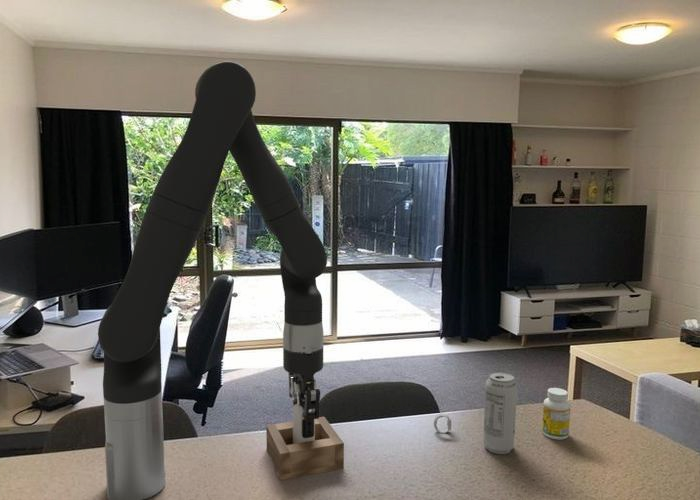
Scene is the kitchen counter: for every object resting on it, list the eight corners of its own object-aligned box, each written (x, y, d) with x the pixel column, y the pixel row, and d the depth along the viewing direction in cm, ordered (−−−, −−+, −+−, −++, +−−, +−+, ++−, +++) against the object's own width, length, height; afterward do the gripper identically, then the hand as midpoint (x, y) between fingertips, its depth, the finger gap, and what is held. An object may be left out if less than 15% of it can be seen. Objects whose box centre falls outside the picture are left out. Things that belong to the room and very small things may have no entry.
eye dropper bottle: (315, 439, 110) (315, 381, 108) (314, 454, 104) (314, 392, 102) (293, 439, 110) (293, 381, 108) (291, 454, 104) (290, 392, 102)
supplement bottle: (568, 442, 115) (571, 397, 113) (541, 437, 116) (544, 394, 115) (568, 431, 120) (571, 388, 118) (542, 427, 121) (544, 385, 120)
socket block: (280, 480, 99) (280, 453, 99) (266, 449, 111) (266, 425, 110) (343, 468, 104) (343, 443, 103) (324, 439, 115) (324, 416, 114)
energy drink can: (520, 452, 110) (524, 379, 108) (494, 457, 108) (498, 383, 106) (501, 438, 116) (504, 369, 114) (476, 443, 114) (479, 373, 112)
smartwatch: (433, 433, 118) (434, 416, 117) (432, 429, 120) (433, 411, 119) (450, 434, 118) (451, 416, 117) (449, 429, 120) (450, 412, 119)
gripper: (275, 335, 109) (275, 417, 112) (293, 358, 96) (293, 450, 98) (311, 332, 112) (311, 412, 114) (334, 354, 99) (334, 443, 101)
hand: (303, 429), depth 106 cm, fingers closed on eye dropper bottle, 5 cm apart
